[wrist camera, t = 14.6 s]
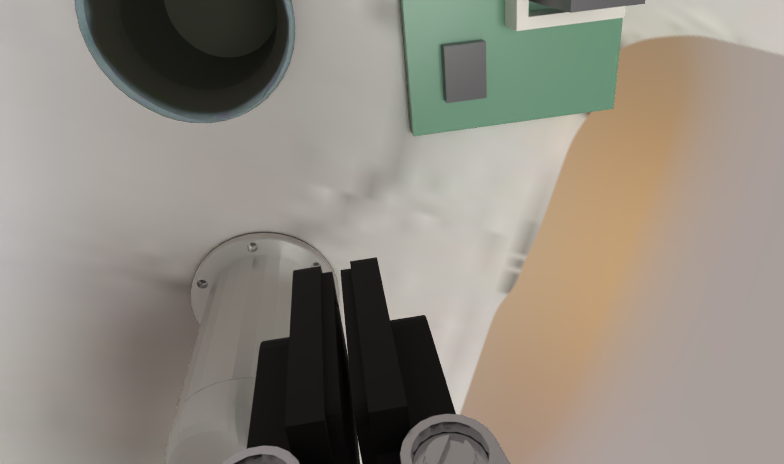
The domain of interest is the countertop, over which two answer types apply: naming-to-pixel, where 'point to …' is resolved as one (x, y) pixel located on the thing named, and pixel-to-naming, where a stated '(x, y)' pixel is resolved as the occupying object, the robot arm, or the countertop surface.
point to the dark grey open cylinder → (191, 52)
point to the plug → (586, 4)
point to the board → (506, 62)
